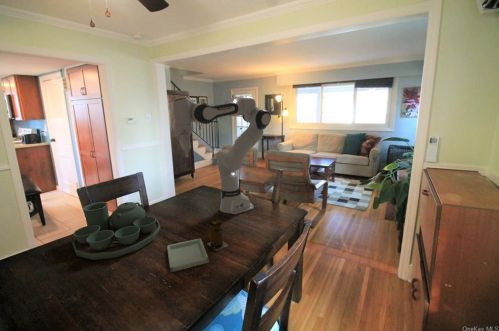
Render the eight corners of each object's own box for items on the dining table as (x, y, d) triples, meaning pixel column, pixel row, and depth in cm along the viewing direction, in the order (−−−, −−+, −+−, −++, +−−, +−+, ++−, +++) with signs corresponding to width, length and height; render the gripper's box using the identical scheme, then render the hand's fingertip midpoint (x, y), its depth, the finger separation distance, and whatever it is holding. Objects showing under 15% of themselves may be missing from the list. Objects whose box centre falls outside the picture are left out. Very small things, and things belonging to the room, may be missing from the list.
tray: (200, 241, 119) (200, 238, 118) (209, 262, 102) (208, 258, 102) (167, 249, 113) (167, 245, 112) (170, 272, 96) (170, 268, 96)
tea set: (58, 268, 101) (50, 233, 97) (91, 225, 138) (86, 199, 134) (157, 252, 111) (153, 220, 107) (163, 216, 148) (160, 191, 144)
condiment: (219, 238, 121) (218, 217, 118) (228, 245, 115) (227, 223, 112) (206, 243, 117) (205, 221, 114) (215, 251, 110) (214, 228, 107)
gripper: (192, 131, 116) (194, 158, 119) (187, 128, 134) (189, 152, 137) (179, 131, 113) (181, 159, 117) (175, 128, 132) (178, 153, 135)
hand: (185, 155), depth 127 cm, fingers open, 8 cm apart
